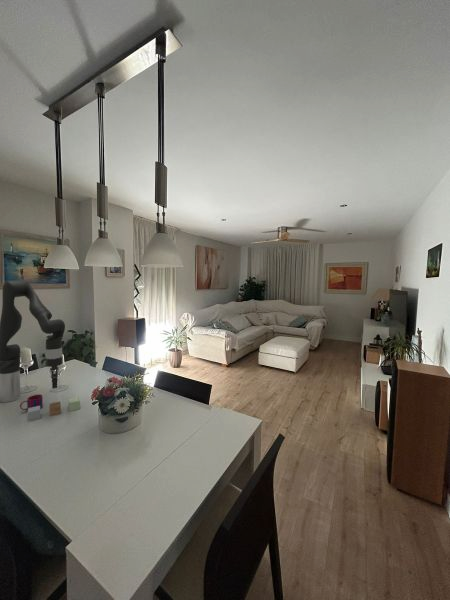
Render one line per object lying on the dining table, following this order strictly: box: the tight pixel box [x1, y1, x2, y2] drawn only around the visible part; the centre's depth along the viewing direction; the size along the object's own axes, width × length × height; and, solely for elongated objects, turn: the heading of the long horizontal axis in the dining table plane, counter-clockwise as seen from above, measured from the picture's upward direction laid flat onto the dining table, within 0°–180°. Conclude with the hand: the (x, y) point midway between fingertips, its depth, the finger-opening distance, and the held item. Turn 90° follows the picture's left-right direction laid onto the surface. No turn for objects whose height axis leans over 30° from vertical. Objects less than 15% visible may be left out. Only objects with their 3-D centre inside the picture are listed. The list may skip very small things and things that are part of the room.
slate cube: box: [27, 406, 41, 422], centre depth 126 cm, size 5×5×5 cm
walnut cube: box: [48, 401, 62, 417], centre depth 132 cm, size 5×5×5 cm
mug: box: [19, 394, 43, 411], centre depth 134 cm, size 7×10×7 cm
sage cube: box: [68, 397, 81, 412], centre depth 137 cm, size 5×5×5 cm
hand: (54, 385), depth 131 cm, fingers open, 8 cm apart
